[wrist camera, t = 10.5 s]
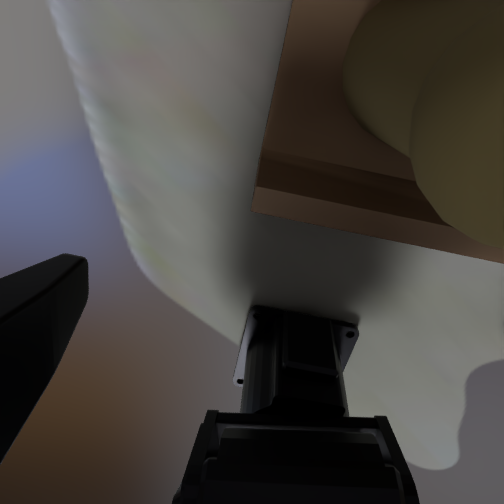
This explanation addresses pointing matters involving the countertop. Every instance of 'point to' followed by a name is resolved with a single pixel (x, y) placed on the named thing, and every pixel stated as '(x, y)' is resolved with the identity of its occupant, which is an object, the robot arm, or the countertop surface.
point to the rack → (340, 146)
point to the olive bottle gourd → (437, 101)
